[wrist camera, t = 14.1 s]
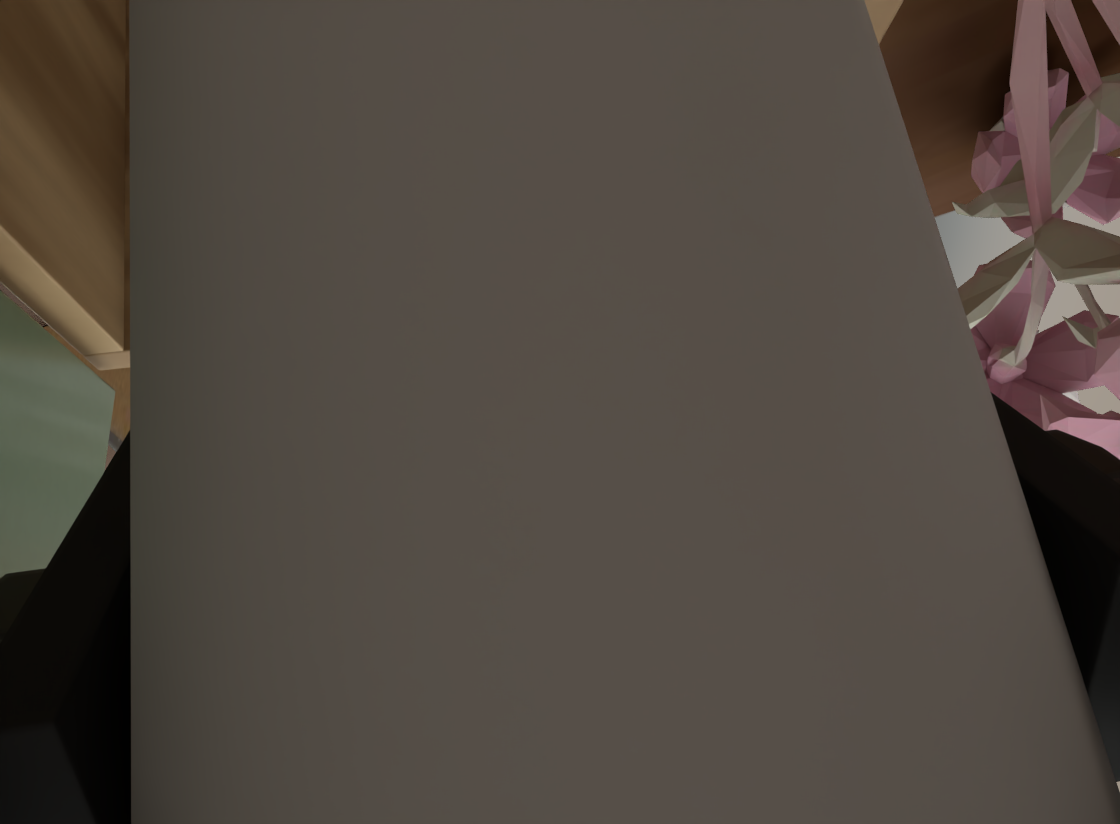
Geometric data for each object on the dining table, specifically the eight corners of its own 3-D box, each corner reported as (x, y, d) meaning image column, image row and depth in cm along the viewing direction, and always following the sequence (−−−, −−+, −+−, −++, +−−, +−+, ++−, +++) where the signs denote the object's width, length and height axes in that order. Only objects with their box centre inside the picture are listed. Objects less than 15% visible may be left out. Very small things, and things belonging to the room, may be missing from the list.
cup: (-74, -182, 8) (-210, 1317, 4) (919, -411, 7) (1551, 1093, 4) (309, 270, 16) (355, 913, 12) (784, 177, 15) (957, 824, 12)
